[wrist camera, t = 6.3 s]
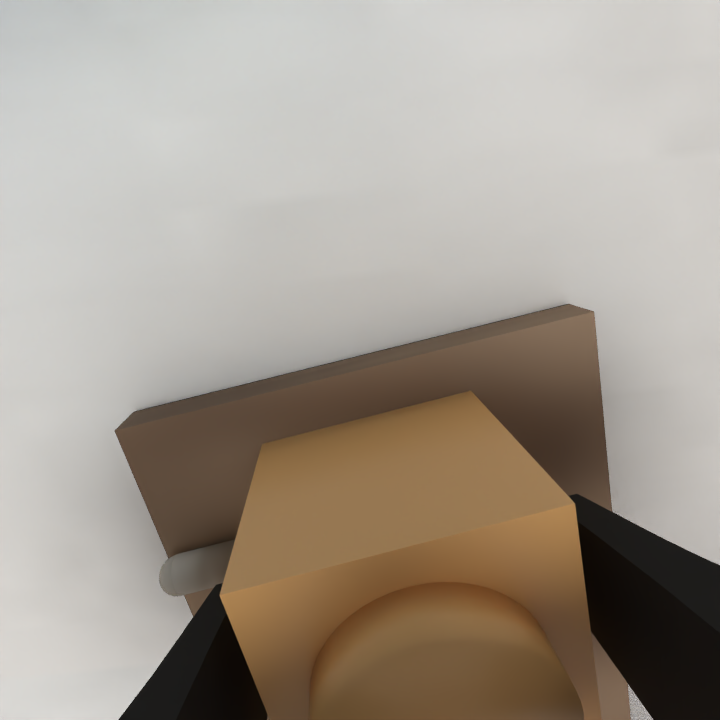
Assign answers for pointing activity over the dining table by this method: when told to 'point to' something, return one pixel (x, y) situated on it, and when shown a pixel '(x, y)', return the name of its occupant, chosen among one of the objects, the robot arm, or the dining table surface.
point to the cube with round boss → (411, 574)
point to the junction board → (364, 399)
